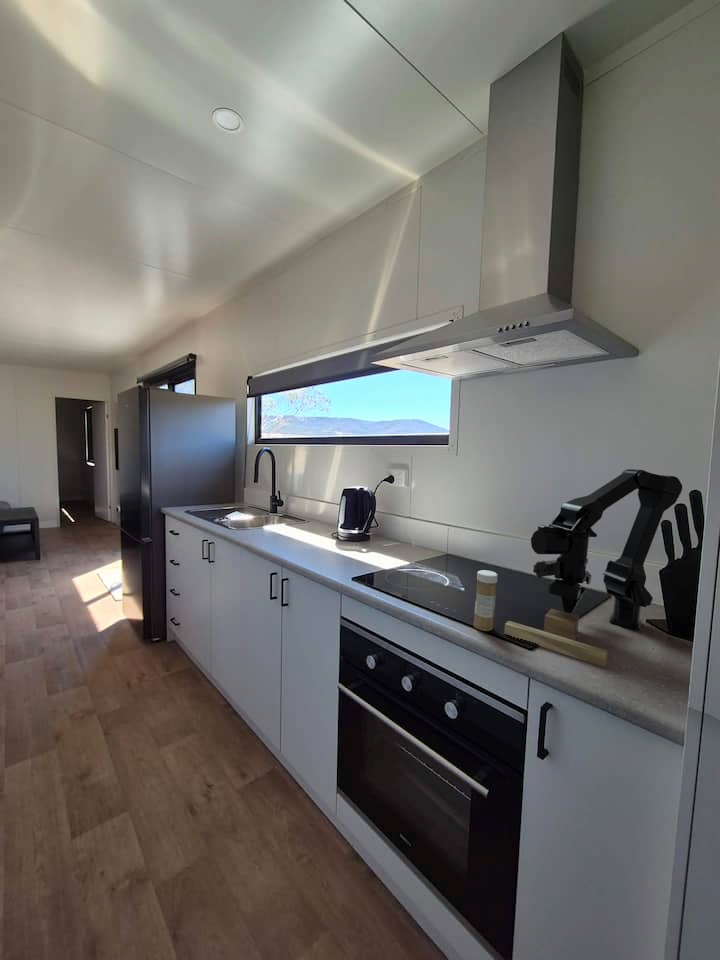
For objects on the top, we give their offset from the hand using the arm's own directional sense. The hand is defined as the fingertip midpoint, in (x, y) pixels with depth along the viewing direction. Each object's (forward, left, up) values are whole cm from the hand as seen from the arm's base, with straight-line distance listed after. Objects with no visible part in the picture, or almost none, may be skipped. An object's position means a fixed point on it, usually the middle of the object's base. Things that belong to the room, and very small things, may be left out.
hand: (567, 616), depth 99 cm
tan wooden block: (+7, 0, -3) cm, 8 cm away
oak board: (+15, 0, -3) cm, 15 cm away
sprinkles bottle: (+16, -15, -3) cm, 22 cm away
